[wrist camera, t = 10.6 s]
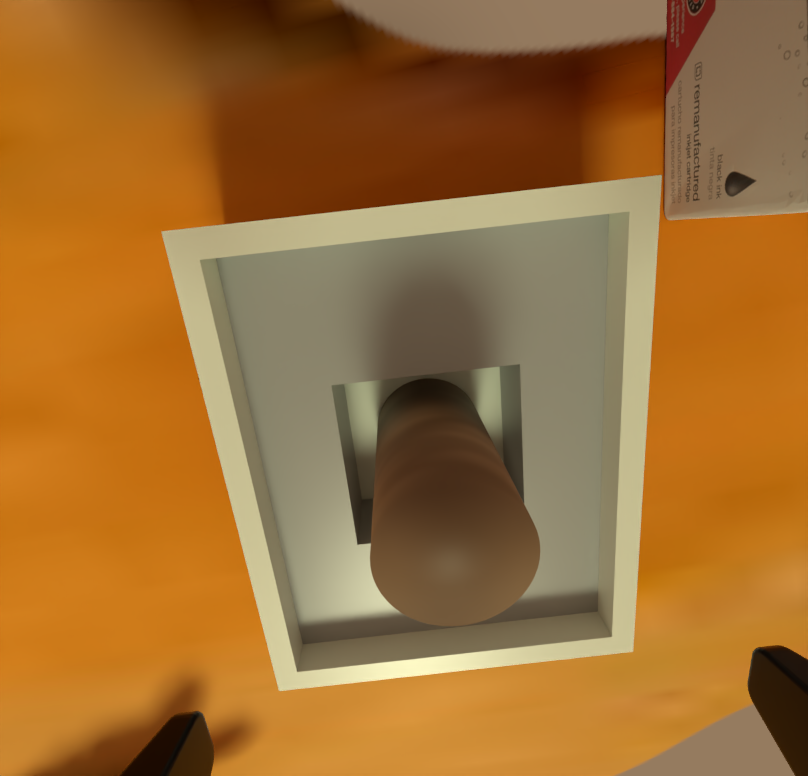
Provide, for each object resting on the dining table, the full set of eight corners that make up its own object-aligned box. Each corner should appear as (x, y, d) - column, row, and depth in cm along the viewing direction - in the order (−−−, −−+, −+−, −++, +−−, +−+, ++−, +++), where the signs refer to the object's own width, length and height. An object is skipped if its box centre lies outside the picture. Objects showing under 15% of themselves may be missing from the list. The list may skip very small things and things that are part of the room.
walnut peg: (475, 372, 18) (539, 473, 10) (480, 465, 19) (541, 617, 12) (371, 384, 18) (358, 493, 10) (383, 476, 19) (380, 634, 12)
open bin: (583, 192, 17) (662, 174, 12) (579, 560, 22) (633, 651, 17) (225, 233, 17) (161, 231, 12) (302, 591, 22) (278, 691, 17)
